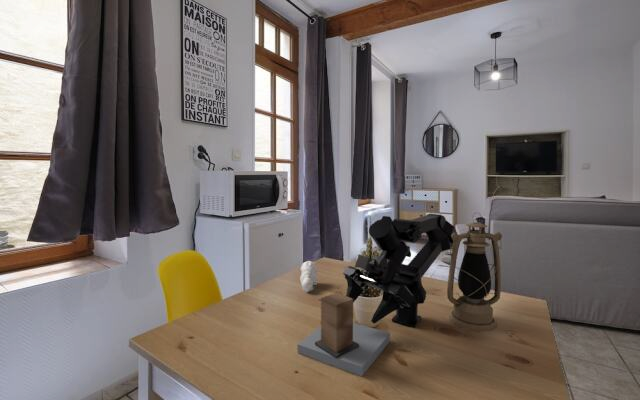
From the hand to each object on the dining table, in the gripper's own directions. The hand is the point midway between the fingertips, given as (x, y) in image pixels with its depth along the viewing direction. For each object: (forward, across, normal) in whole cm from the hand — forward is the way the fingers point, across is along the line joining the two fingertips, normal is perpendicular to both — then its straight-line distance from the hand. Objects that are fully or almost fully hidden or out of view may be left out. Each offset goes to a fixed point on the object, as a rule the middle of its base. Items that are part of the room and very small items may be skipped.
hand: (358, 315), depth 75 cm
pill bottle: (-15, -26, +26) cm, 40 cm away
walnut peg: (+10, 0, 0) cm, 10 cm away
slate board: (+7, -1, +3) cm, 8 cm away
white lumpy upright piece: (-3, -38, +14) cm, 41 cm away
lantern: (-18, +10, +29) cm, 36 cm away
